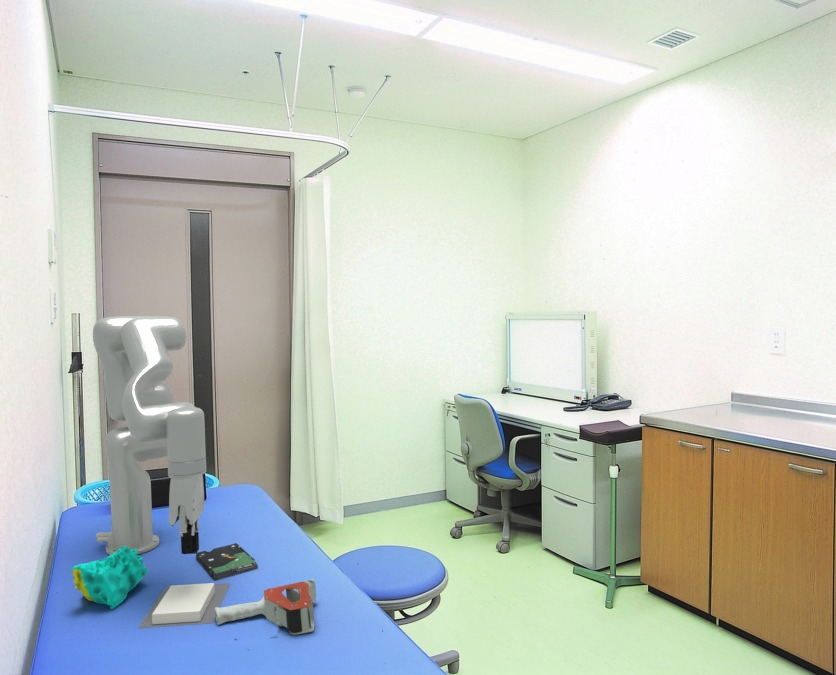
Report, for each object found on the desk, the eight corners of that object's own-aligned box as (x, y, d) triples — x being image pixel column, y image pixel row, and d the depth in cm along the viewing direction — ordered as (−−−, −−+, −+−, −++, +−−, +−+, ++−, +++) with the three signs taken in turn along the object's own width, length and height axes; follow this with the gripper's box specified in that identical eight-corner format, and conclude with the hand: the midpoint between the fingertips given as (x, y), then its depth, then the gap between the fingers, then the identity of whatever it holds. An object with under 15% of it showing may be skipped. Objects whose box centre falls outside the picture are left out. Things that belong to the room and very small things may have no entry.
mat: (137, 631, 115) (137, 628, 115) (165, 589, 132) (165, 586, 132) (212, 626, 116) (212, 623, 116) (230, 585, 133) (230, 582, 133)
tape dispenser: (207, 631, 117) (281, 655, 106) (204, 604, 117) (278, 626, 106) (273, 590, 132) (344, 608, 121) (271, 566, 131) (341, 582, 121)
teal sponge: (58, 566, 128) (115, 524, 136) (90, 608, 131) (145, 565, 139) (68, 577, 117) (130, 531, 124) (103, 624, 119) (163, 576, 127)
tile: (171, 595, 128) (152, 624, 116) (171, 585, 128) (151, 614, 116) (214, 592, 129) (200, 621, 117) (214, 583, 129) (199, 611, 117)
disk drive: (195, 564, 146) (214, 585, 134) (194, 552, 146) (214, 573, 134) (236, 553, 152) (259, 572, 140) (236, 542, 152) (258, 561, 140)
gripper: (179, 458, 133) (182, 539, 133) (156, 477, 118) (160, 568, 119) (213, 457, 133) (216, 537, 134) (196, 475, 118) (199, 566, 119)
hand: (190, 552), depth 126 cm, fingers closed
